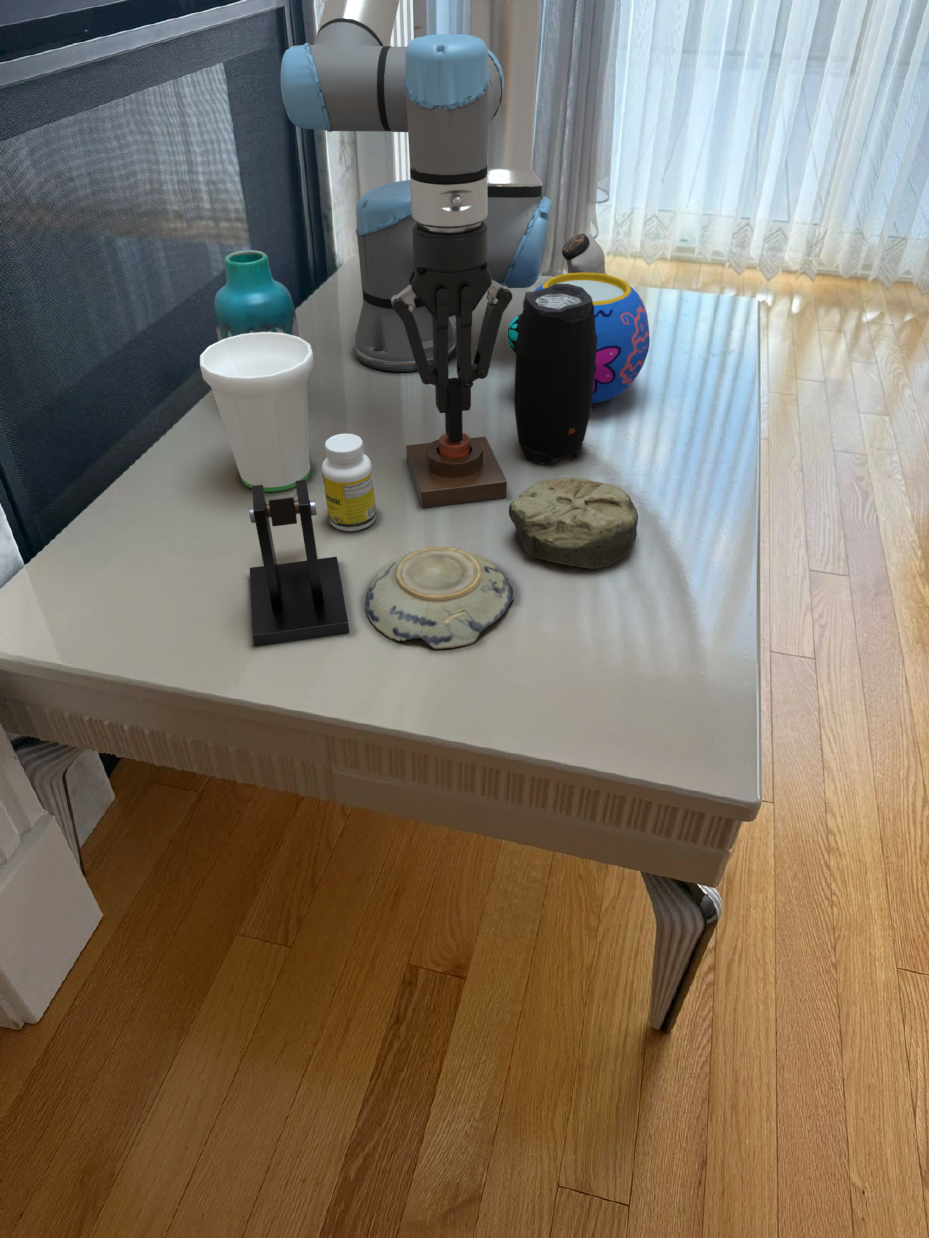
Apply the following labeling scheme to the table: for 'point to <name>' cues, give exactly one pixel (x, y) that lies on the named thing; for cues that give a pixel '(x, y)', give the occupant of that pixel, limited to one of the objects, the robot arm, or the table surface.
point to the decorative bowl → (438, 597)
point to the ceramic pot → (608, 330)
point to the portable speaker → (554, 372)
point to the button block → (455, 474)
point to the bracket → (294, 583)
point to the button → (454, 447)
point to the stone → (575, 522)
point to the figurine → (584, 255)
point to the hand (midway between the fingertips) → (453, 435)
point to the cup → (263, 404)
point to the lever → (283, 511)
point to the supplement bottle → (348, 483)
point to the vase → (252, 299)
